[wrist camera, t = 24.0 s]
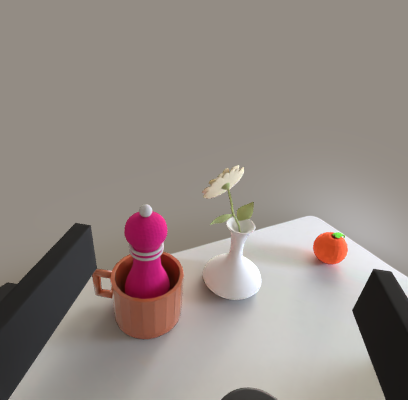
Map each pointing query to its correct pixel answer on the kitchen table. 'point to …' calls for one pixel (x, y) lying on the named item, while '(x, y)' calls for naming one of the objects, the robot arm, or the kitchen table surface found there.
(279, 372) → the kitchen table surface
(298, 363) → the kitchen table surface
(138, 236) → the pepper mill
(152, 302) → the terracotta coffee mug
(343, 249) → the clementine
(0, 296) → the robot arm
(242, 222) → the flower in vase
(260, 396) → the jar
